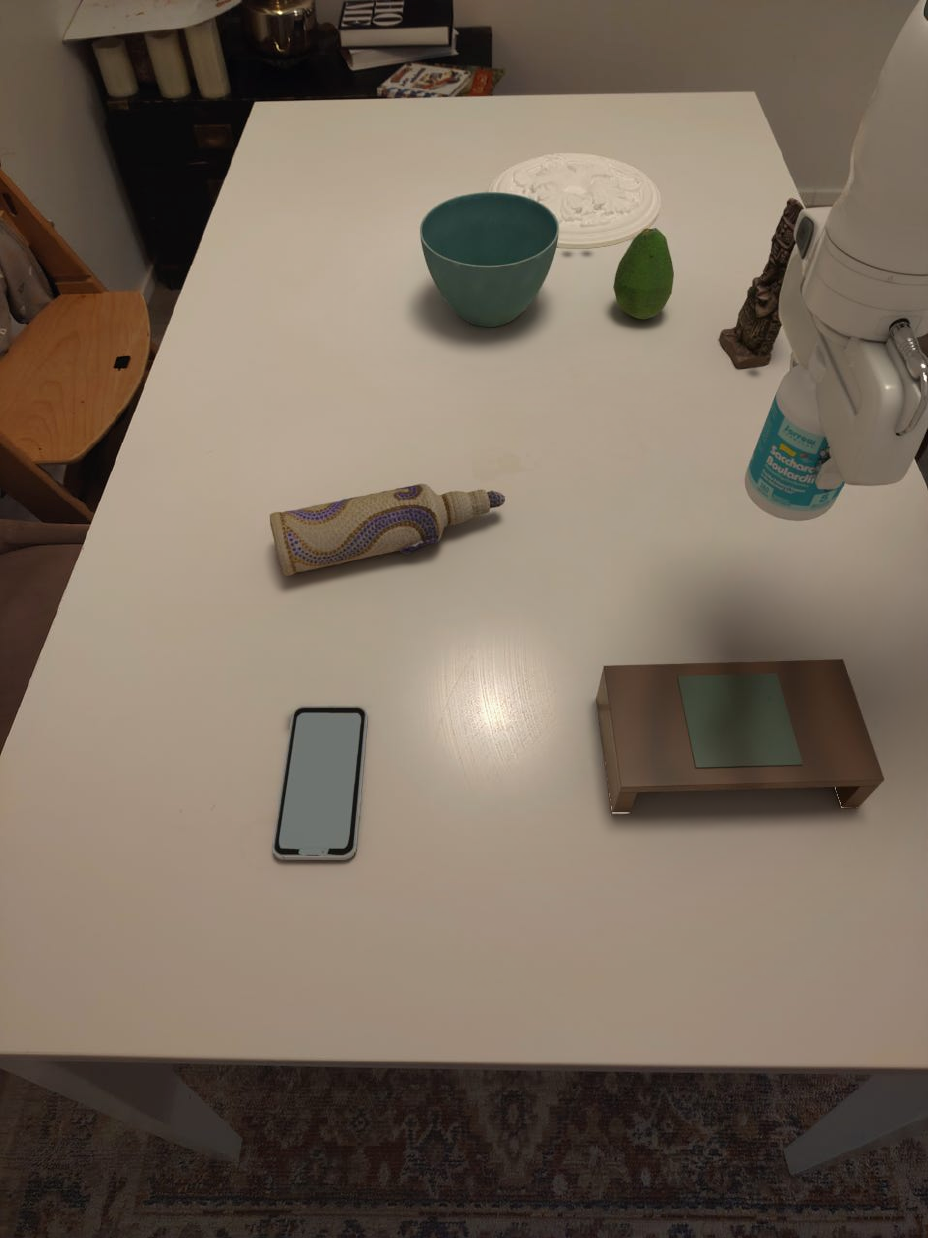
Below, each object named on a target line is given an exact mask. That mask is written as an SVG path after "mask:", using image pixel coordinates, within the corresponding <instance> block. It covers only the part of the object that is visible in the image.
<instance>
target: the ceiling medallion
mask: <svg viewBox="0 0 928 1238" xmlns="http://www.w3.org/2000/svg"><path fill="white" fill-rule="evenodd" d="M487 192H500V193H510V194H516V195H520V196H524V197H527V198H530V199H533V200H535V201H537V202H539V203H541V204H543V205H544V206H546V207H547V208H548V209H549V210H550V211H551V212H552V213H553V214H554V215H555V217H556V219H557V221H558V224H559V235H558V241H557V247H556V248H561V249H571V250H572V249H574V250H575V249H576V250H577V249H579V250H580V249H582V250H583V249H594V248H603V247H609V246H613V245H617V244H620V243H623V242H626V241H629V240H631V239H633V238H634V239H635V237H636V236H637V235H638V234H640V233H641V232H642V231H643V230H644V229H650V227H651V226H652V225H653V224H654V223H655V222H656V221H657V219H658V217H659V214H660V211H661V206H662V196H661V192H660V190H659V188H658V187H657V185H656V183H655V182H654V181H653V180H652V179H651V178H650V177H649V176H647V174H645V173H644V172H642V171H641V170H639V169H638V168H635V167H634V166H632V165H630V164H628V163H625V162H624V161H621V160H617V159H614V158H610V157H607V156H603V155H599V154H593V153H592V154H591V153H583V152H582V153H581V152H561V153H560V152H555V153H553V154H549V153H548V154H545V155H540V156H537V157H533V158H529V159H526V160H524V161H521V162H518V163H516V164H513V166H511V167H509V168H507V169H506V170H504V171H503V172H501V173H500V174H499V175H497V177H496V178H495V179H494V180H493V181H492V183H491V184H490V186H489V189H488V191H487Z"/></svg>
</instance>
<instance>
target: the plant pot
mask: <svg viewBox="0 0 928 1238" xmlns="http://www.w3.org/2000/svg"><path fill="white" fill-rule="evenodd" d="M558 235H559V224H558V221H557V219H556V217H555V215H554V214H553V213H552V212H551V211H550V210H549V209H548V208H547V207H546V206H544V205H543V204H541V203H539V202H537V201H535V200H533V199H530V198H527V197H524V196H520V195H516V194H510V193H500V192H488V191H484V192H483V191H482V192H473V193H467V194H462V195H458V196H456V197H455V196H454V197H453V198H449V199H447V200H444V201H443V202H441V203H439V204H437V205H435V206H433V208H431V209H430V210H429V211H428V212H427V213H426V214H425V215H424V216H423V218H422V220H421V222H420V225H419V237H420V238H419V239H420V243H421V248H422V253H423V258H424V260H425V263H426V267H427V269H428V272H429V274H430V277H431V279H432V280H433V281H432V282H433V283H434V285H435V287H436V289H437V290H438V292H439V293H440V295H441V296H442V298H443V299H444V300H445V302H446V303H447V304H448V305H449V306H450V307H451V309H452V310H454V312H456V313H457V314H458V315H459V316H460V317H461V318H462V319H463V320H465V321H467V322H468V323H470V324H472V325H475V326H478V327H483V328H493V327H499V326H503V325H506V324H508V323H510V322H512V321H513V320H515V319H516V318H517V317H518V316H519V315H520V314H522V312H524V311H525V309H527V308H528V307H529V305H530V304H531V303H532V301H534V299H535V298H536V297H537V295H538V293H539V292H540V290H541V288H542V287H543V285H544V283H545V282H546V280H547V277H548V274H549V273H550V270H551V268H552V264H553V261H554V257H555V255H556V251H557V248H558V247H557V241H558Z"/></svg>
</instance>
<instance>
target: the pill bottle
mask: <svg viewBox="0 0 928 1238" xmlns="http://www.w3.org/2000/svg"><path fill="white" fill-rule="evenodd" d="M808 366H809V370H806V369H805V368H804V366H803V365H801V364H798V365H797V366H795V367H793V368H792V369H791V370H790V369H789V370H788V371H787V372H786V373H785V374H784V376H783V377H782V379H781V381H780V382H779V385H778V387H777V390H776V392H775V395H774V397H773V400H772V403H771V406H770V408H769V411H768V414H767V415H766V418H765V422H764V423H763V426H762V429H761V432H760V434H759V437H758V438H757V439H758V440H757V442H756V445H755V447H754V449H753V452H752V454H751V457H750V460H749V463H748V466H747V469H746V471H745V474H744V488H745V490H746V494H747V495H748V497H749V499H750V500H751V501H752V503H753V504H754V505H755V506H756V507H758V509H759V510H762V511H763V512H765V513H767V514H768V515H770V516H773V517H775V518H778V519H782V520H785V521H793V522H803V521H810V520H811V521H812V520H813V519H817V518H819V517H821V516H823V515H824V514H826V513H827V512H828V511H829V510H830V509H831V508H832V507H833V506H834V504H835V503H836V500H837V499H838V497H839V495H840V493H841V491H842V489H843V487H844V486H845V484H846V483H845V482H844V481H843V482H842V484H841V486H840V487H838V488H836V489H818V488H817V486H816V484H815V480H814V477H813V474H812V471H813V469H815V464H816V462H817V460H818V458H828V459H830V458H831V456H830V454H829V450H830V447H829V444H828V442H827V439H826V436H825V434H824V431H823V429H822V426H821V424H820V421H819V413H818V405H817V399H816V391H815V388H816V383H818V384H819V383H821V382H822V379H823V377H824V375H825V372H826V367H825V365H824V362H823V360H822V357H821V355H820V352H819V350H818V347H817V346H816V347H815V349H814V351H813V353H812V355H811V357H810V359H809V363H808Z"/></svg>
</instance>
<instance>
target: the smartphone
mask: <svg viewBox="0 0 928 1238" xmlns="http://www.w3.org/2000/svg"><path fill="white" fill-rule="evenodd" d="M368 723H369V715H368V711H367V709H366V708H364V707H363V706H360V705H301V706H298V707H297V708H295V709H294V710H293V711H292V712H291V717H290V723H289V729H288V730H289V731H288V737H287V743H286V750H285V755H284V756H285V757H284V763H283V770H282V776H281V782H280V783H281V784H280V789H279V797H278V803H277V809H276V816H275V823H274V829H273V836H272V843H271V850H272V852H273V855H274V856H275V857H276V858H277V859H278V860H283V861H287V860H288V861H294V860H295V861H301V860H302V861H328V860H329V861H346V860H349V859H351V858H352V857H353V856H355V854H356V852H357V850H358V840H357V838H358V839H359V828H358V826H360V817H361V805H362V796H363V795H362V794H361V792H362V791H363V782H364V781H363V779H364V771H365V769H364V768H365V759H364V758H365V757H366V747H367V736H368V735H367V734H368ZM363 770H364V771H363ZM362 793H363V792H362ZM360 804H361V805H360ZM356 849H357V850H356ZM354 853H355V854H354Z"/></svg>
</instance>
